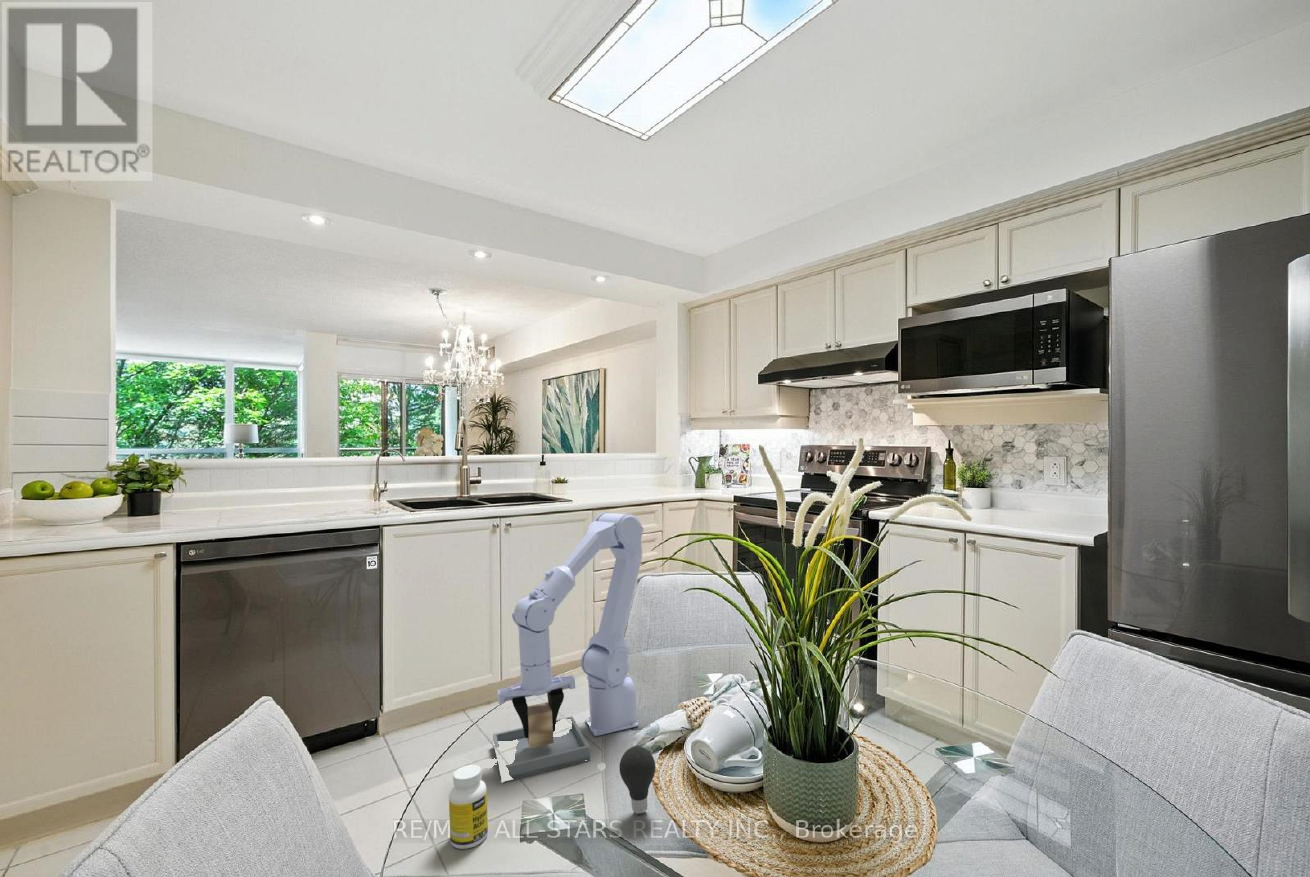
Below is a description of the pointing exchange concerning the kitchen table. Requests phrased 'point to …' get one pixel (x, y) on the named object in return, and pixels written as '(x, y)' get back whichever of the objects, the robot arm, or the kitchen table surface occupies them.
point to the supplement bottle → (468, 808)
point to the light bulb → (637, 775)
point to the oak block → (540, 725)
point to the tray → (545, 752)
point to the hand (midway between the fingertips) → (539, 732)
